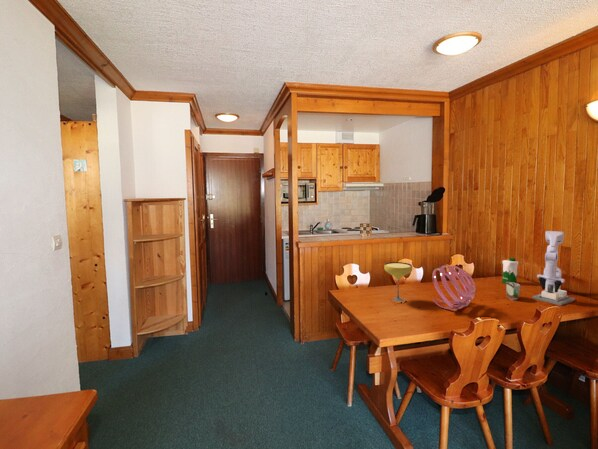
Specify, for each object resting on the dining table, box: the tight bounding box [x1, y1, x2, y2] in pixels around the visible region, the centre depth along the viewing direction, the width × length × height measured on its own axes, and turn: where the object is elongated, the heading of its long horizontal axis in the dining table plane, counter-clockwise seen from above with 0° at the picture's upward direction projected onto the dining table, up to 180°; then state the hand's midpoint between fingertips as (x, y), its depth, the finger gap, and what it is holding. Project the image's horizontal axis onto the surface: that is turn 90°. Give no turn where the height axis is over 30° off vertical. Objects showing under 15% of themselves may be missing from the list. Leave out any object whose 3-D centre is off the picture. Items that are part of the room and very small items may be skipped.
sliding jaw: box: [540, 284, 559, 300], centre depth 205 cm, size 4×8×9 cm, turn 27°
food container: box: [505, 282, 521, 302], centre depth 211 cm, size 12×6×10 cm, turn 168°
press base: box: [532, 288, 576, 306], centre depth 207 cm, size 18×16×6 cm
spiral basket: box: [431, 264, 476, 311], centre depth 198 cm, size 28×28×27 cm
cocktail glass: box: [383, 261, 413, 301], centre depth 211 cm, size 18×18×25 cm
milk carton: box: [501, 257, 519, 284], centre depth 245 cm, size 9×9×20 cm
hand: (549, 290), depth 204 cm, fingers open, 6 cm apart
